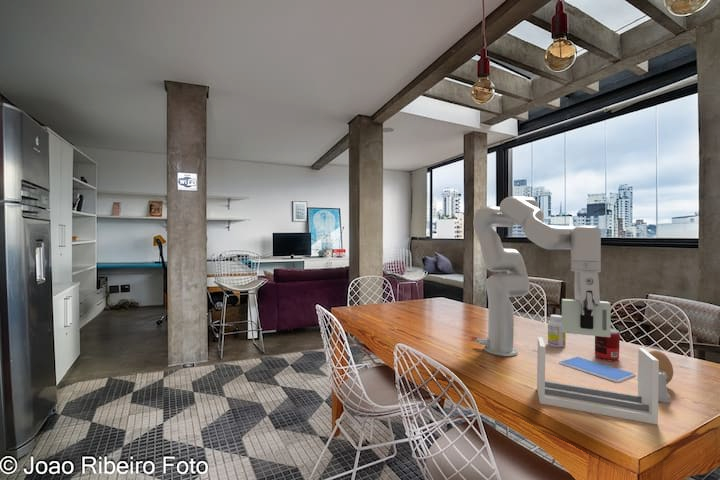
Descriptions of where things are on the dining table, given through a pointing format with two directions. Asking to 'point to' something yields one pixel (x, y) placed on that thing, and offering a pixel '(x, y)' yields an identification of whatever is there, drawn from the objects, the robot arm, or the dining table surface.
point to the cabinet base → (605, 392)
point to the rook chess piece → (663, 388)
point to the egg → (663, 364)
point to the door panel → (573, 312)
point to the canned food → (608, 346)
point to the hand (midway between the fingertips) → (585, 326)
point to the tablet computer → (598, 369)
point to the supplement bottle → (556, 332)
